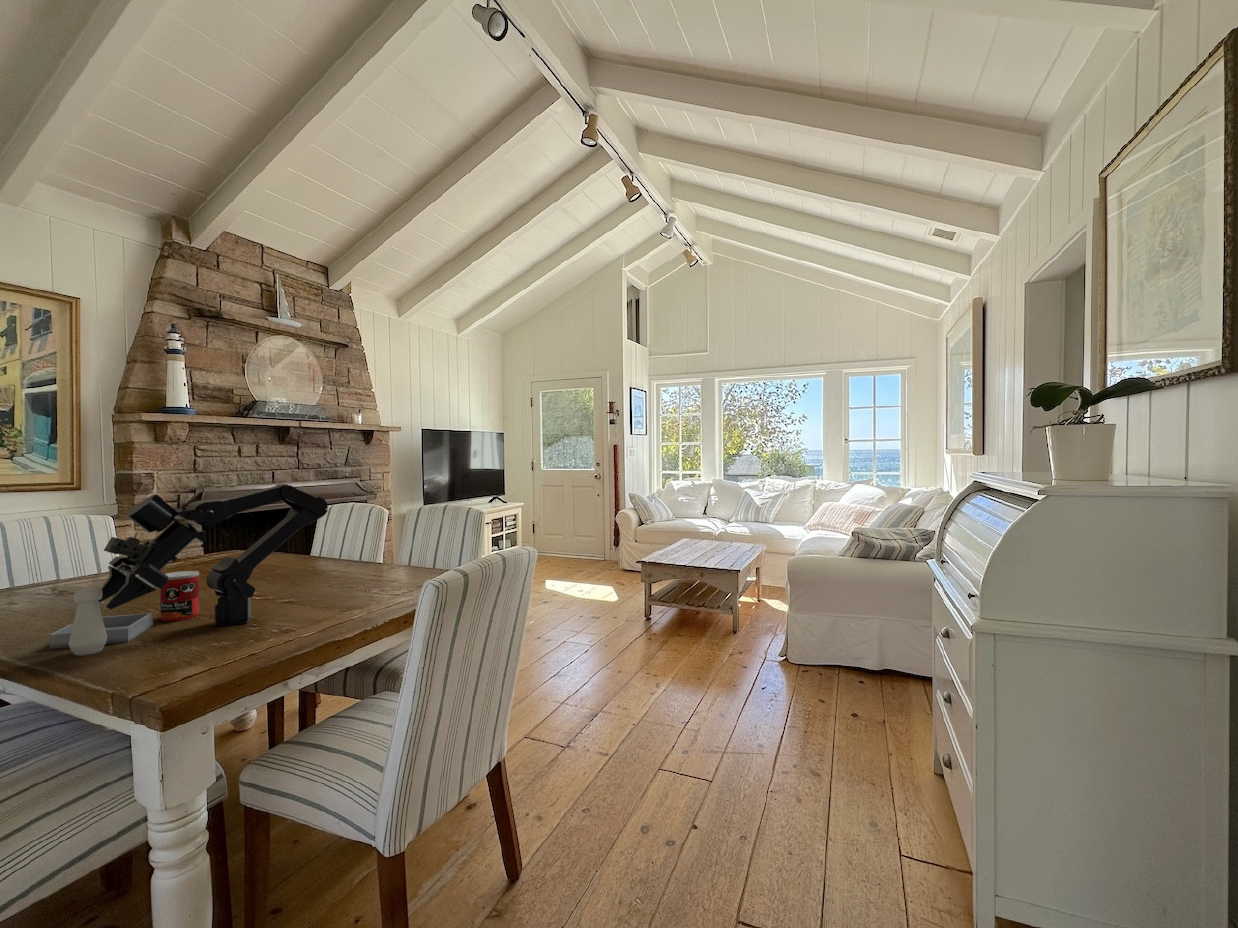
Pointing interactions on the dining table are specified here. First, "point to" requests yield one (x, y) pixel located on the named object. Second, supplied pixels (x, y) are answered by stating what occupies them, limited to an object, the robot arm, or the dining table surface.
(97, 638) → the salt shaker
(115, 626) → the tray
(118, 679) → the dining table surface
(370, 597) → the dining table surface
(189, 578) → the canned food
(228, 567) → the robot arm
